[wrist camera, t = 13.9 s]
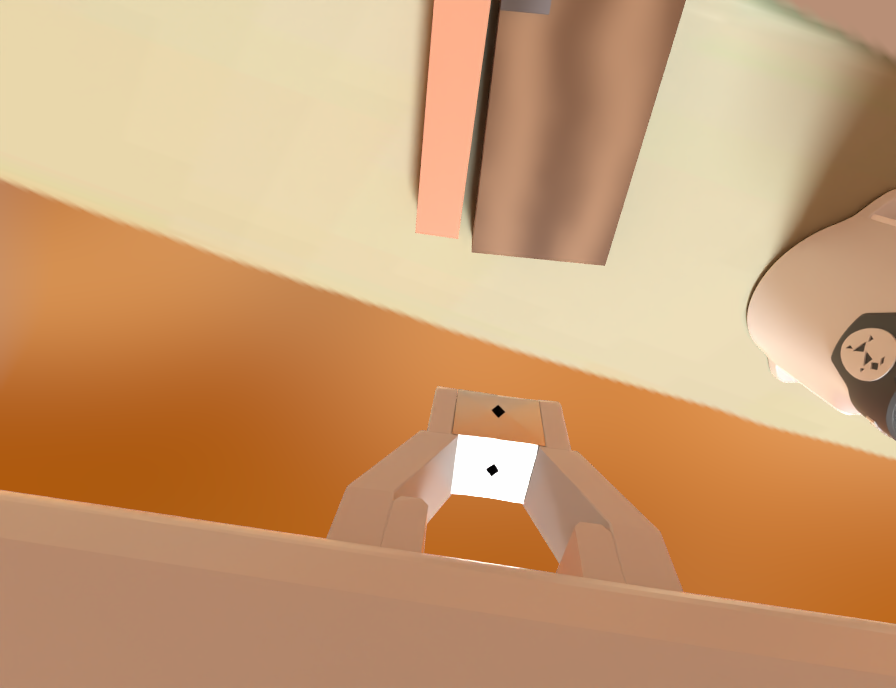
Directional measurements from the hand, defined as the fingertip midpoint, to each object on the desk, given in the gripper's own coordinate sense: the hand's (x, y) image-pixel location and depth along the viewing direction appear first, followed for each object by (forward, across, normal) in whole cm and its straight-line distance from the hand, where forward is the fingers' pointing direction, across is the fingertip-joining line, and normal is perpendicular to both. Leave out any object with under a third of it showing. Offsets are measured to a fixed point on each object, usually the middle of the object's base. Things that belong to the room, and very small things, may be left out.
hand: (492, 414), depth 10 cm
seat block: (+29, -4, -6) cm, 29 cm away
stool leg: (+28, +4, -6) cm, 29 cm away
